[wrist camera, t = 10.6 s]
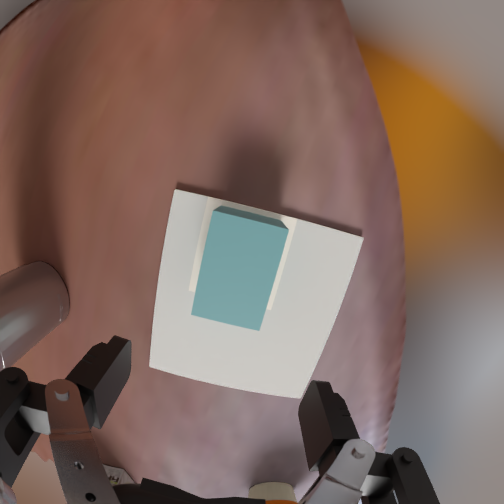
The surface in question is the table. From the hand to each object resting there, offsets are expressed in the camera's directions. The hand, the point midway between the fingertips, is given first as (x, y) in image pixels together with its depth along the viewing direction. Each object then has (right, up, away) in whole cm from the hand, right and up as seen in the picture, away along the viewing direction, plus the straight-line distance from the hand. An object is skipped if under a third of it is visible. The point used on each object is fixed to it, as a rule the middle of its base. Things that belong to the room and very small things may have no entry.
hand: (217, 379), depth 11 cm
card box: (0, +5, +17) cm, 18 cm away
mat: (+1, -1, +19) cm, 19 cm away
